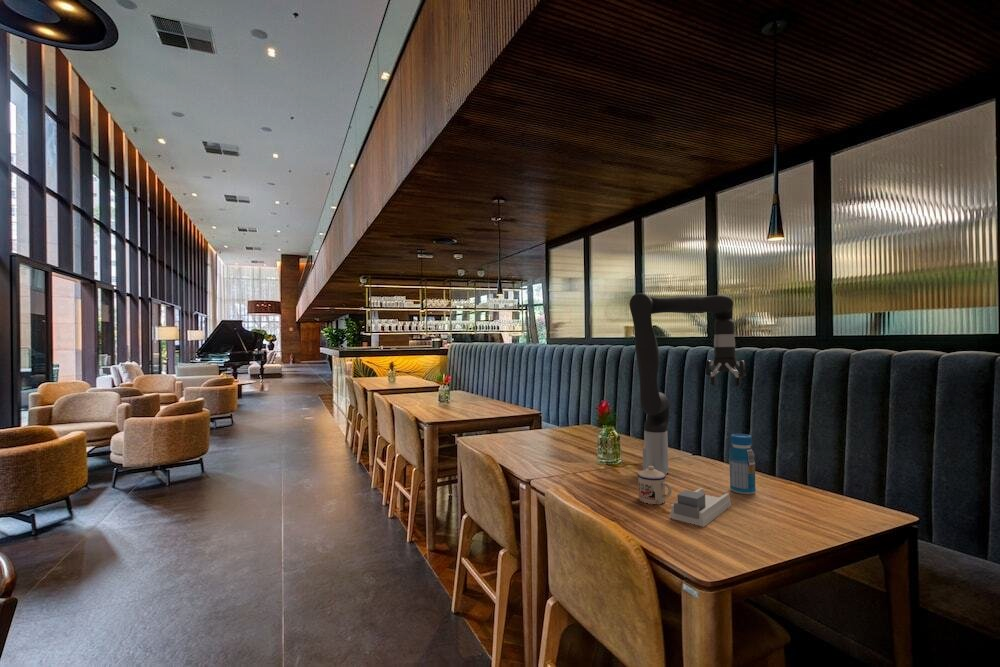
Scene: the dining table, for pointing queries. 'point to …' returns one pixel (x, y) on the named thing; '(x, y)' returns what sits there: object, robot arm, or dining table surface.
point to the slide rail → (706, 515)
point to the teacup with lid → (652, 486)
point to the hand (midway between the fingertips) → (725, 386)
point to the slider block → (692, 499)
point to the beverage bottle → (742, 464)
